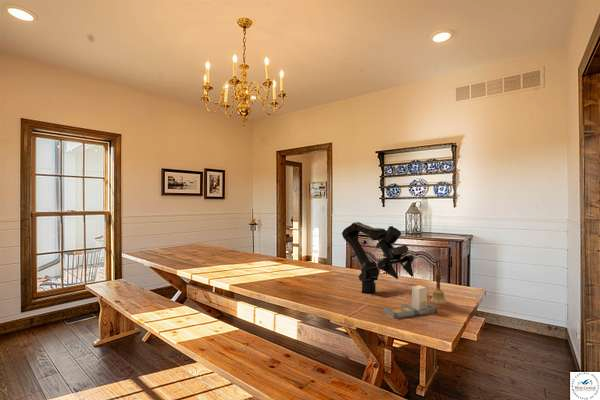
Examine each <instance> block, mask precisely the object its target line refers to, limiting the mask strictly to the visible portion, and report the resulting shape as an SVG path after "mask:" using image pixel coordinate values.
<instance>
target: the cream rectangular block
mask: <svg viewBox="0 0 600 400" xmlns="http://www.w3.org/2000/svg"><path fill="white" fill-rule="evenodd" d="M427 292H428V291H427V287H426V286H423V285H420V284H419V285H413V286H411V307H413V308H415V309H417V310H420V309H427V304H428V300H427V295H428V293H427Z"/></svg>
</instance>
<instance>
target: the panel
mask: <svg viewBox="0 0 600 400" xmlns="http://www.w3.org/2000/svg"><path fill="white" fill-rule="evenodd" d="M382 312H383V313H385V314H387V315H388V316H390V317H391V318H393V319H402V318H411V317H419V316H423V315H431V314H437V313H438V308H437V307H435V306H433V305H431V304H428V303H427V309H420V310H417V309H415V308H413V307H412V305H409V304H406V303H402V304H401V303H400V308H398V309H391V308H388V307H386V306H382Z"/></svg>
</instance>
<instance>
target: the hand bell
mask: <svg viewBox="0 0 600 400" xmlns="http://www.w3.org/2000/svg"><path fill="white" fill-rule="evenodd" d="M434 276H435V277H434V278H435V282H436V286H435V287H436V289H435V290H432V291H433V292H432V296H431V298H430V300H429V301H431V302H432V303H435V304H447V303H448V300H447V299H446V298H445V293H444V291H443V290H441V280H442V272H441V269H440V268H436V271H435V273H434Z"/></svg>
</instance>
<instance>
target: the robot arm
mask: <svg viewBox="0 0 600 400" xmlns="http://www.w3.org/2000/svg"><path fill="white" fill-rule="evenodd" d="M360 233H362V234H365V235H368V238H370V239H371V240H372V241H379V242H377V243H376V245H375V246H376V249H380V250H381V252H382V253H383V254H382V258H381V259H379V261H378V262H377V263H376V262H375V261H370V259H369V257H368V256H367V254H366V252H365V249H363V247H362V245H361V243H360V240H359V236H360V235H359V234H360ZM341 236H342V238H343V239H344V240H345V242H347V243H348V244H350V246H351V247H352V250H353V252H354V254H355V255H356V258H357V259H358V261H359V263H360V273H359V275H358V280H359V281H361V291H360V293H363V294H370V295H371V294H372V295H373V294H375V293H376V291H377V283H376V281H378V280H379V275H380V271H384V272H385V273H387V274H389V275H390V276H392V277H393V278H395V279H396V280H398V279H399V275H398V274H397V272H396V270H395V268H394V265H396V264H397V265H398V264H399V265H401V266H402V269H404V270H405V272H406V273H408V275H410V276H411V277H414V271H413V267H412V263H413V262H414V260H415V257H414V256H413V254H407V253H408V252H409V247H408V246H407V245H406V244H402V245H401V246H396V247H394V246H393V244H395V243H396V242H397V241H398V240H399V239H400V237H401V236H402V232H401V231H400V230H399V229H397V228H396V227H394V225H391V226H390V225H389V226H388V228H387V229H386V228H383V227H382V228H380V227H372V226H370V225H367V224H364V223H362V222H360V221H359V222H358V221H357V222H356V221H355V222H352V223H351V224H350V225H349V226H347V227H345V228H344V229H343V231H342V233H341ZM404 254H406V255H404ZM403 255H404V256H403Z"/></svg>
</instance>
